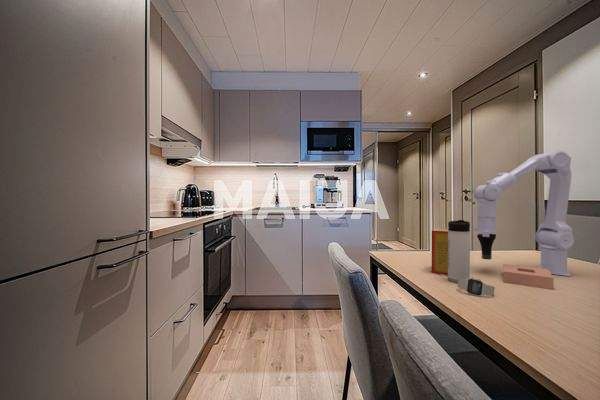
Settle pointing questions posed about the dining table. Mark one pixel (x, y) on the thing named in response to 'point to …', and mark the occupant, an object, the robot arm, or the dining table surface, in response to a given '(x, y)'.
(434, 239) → the baking soda box
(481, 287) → the wristwatch
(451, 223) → the travel mug
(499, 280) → the dining table surface
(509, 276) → the socket block
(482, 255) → the peg
